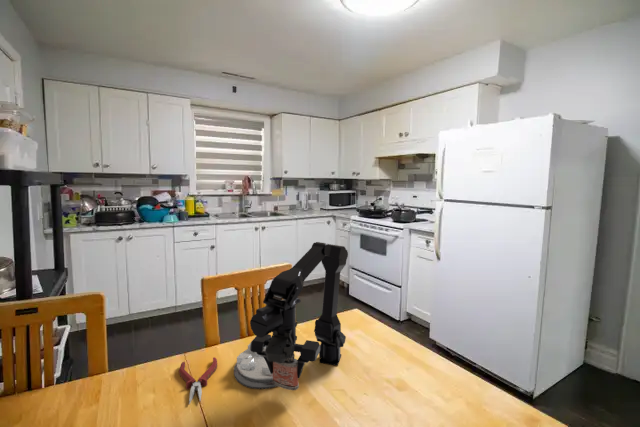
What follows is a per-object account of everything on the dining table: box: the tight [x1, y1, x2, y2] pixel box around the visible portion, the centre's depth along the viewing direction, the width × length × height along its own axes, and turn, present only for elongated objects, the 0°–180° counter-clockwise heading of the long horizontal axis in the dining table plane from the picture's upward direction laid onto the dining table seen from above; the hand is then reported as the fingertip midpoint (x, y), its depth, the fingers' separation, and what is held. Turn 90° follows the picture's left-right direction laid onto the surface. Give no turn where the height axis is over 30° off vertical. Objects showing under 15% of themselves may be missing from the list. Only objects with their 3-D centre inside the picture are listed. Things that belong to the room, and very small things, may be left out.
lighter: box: [272, 352, 300, 391], centre depth 88 cm, size 8×3×10 cm, turn 65°
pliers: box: [178, 357, 218, 405], centre depth 96 cm, size 12×20×3 cm, turn 17°
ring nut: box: [236, 342, 273, 382], centre depth 102 cm, size 18×18×4 cm
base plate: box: [233, 357, 296, 390], centre depth 103 cm, size 20×20×1 cm
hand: (285, 375), depth 89 cm, fingers closed on lighter, 8 cm apart
